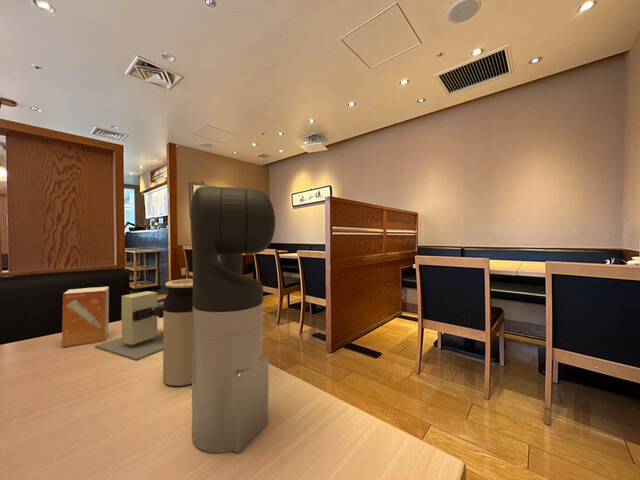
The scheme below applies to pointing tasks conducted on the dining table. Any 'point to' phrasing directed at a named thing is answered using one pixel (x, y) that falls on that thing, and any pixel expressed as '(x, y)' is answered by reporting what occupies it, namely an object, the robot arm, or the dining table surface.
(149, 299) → the tall tan pillar block
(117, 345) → the rubber mat
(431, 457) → the dining table surface
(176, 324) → the travel mug
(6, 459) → the dining table surface
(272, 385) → the dining table surface
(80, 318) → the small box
